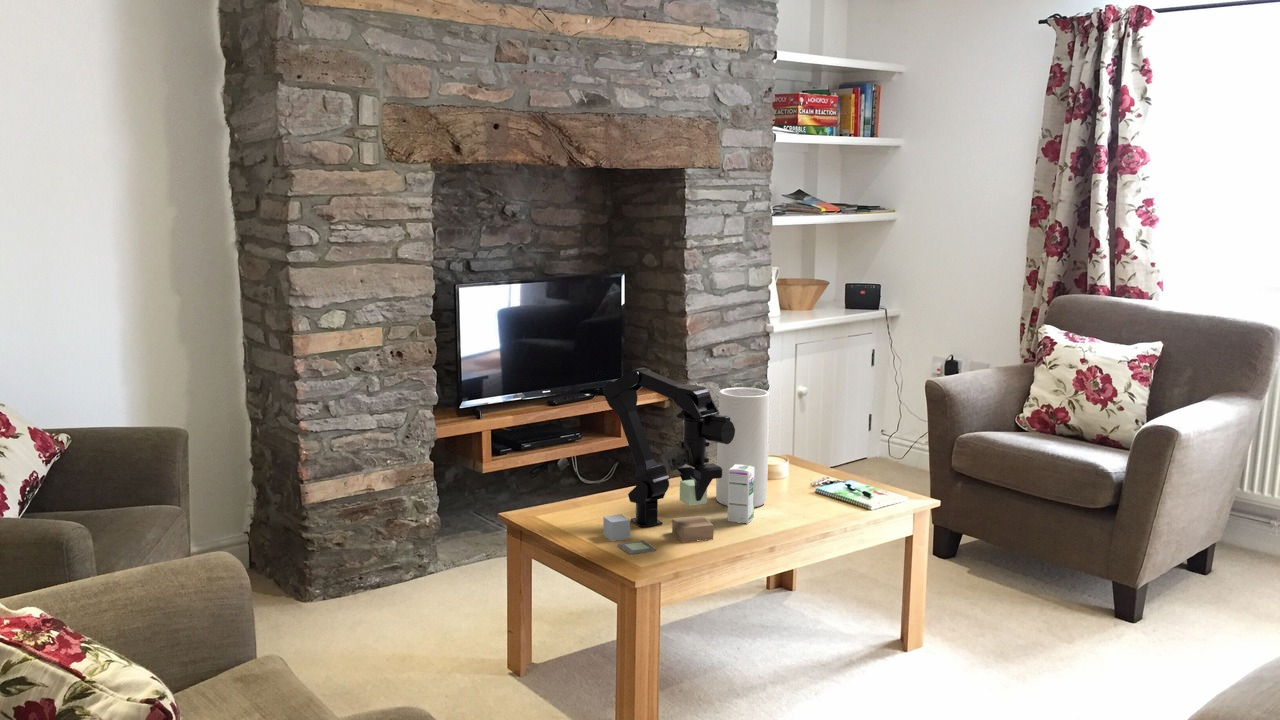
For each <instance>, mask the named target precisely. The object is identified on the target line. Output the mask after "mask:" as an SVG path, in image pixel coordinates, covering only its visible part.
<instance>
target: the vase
mask: <svg viewBox="0 0 1280 720" xmlns="http://www.w3.org/2000/svg"><path fill="white" fill-rule="evenodd" d="M718 398H719V401H718V411H719V415H721V416H730V421H731V422H732V423H733V425H734V428H735V435H734V438H733V440H732V441H731V443H729V444H722V443H717V449H716V450H717V453H716V454H717V455H716V465H717V466H720V467H721V468H722V470H723V477H722V478H717V479H715V491H716V492H715V495H716V497H715V498H716V500H717V502H718V503H720V504H721V505H723V506H726V507H728V470H729V469H730V468H731V467H733V466H734V465H735V464H736V465H749V466H754V508H757V507H760V506H762V505H764V504H765V503H766V501H767V495H768V494H767V493H768V478H769V477H768V476H769V475H768V474H769V473H768V471H769V469H768V468H769V463H768V462H769V436H770V435H769V433H770V432H769V429H770V427H769V426H770V392H769V391H768V390H765V389H761V388H755V387H727V388H722V389H720V390H719V397H718Z"/></svg>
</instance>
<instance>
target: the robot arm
mask: <svg viewBox="0 0 1280 720" xmlns="http://www.w3.org/2000/svg"><path fill="white" fill-rule="evenodd" d="M642 388H645V389H647V390H649V391H651V392H654V393H656V394H659V395H661V396H664V397H666V398H668V399H670V400H672V401H673V402H674V403H675V405H676V406H677V407H678V408H680V409H681V411H680V412H679V413H678V414H676V418H678V419H683V436H682V437H683V439H680V440H679V442H678V447H676V448H672V449H670V450H668V451H666V452H665V453H663V454H661V455H660V458H661V460H662V463H661V464H659V463H657V462H656V460H655V458H654V456H653V453H652V450H651V447H650V445H649V442H648V439H647V436H646V434H645V430H644V428H643V425H642V422H641V419H640V417H639V414H638V411H637V406H638V405H637V403H638V400H639V399H638V394H637V393H638V391H639V390H640V389H642ZM602 390H603V391H602V393H603V395H604V399H605V400H606V403H607V404H608V407H609V408H610V409H612V410H613V411H614V413H615V414H617V416H618V418H619V421H620V424H621V427H622V430H623V432H624V435H625V438H626V441H627V443H628V447H629V449H630V452H631V453H630V454H631V455H632V459H633V460H634V464H635V473H634V482H635V483H634V484H635V486H634V487H633V488H632V489H631V490H630V492H628V494H627V497H628V499H629V502H630V503H634V504H635V517H631V518H630V522H632V523H633V524H635V525H636V526H638V527H640V528H644V527H652V526H658V525H659V526H660V525H663V522H662V521H661V520H659V518H658V515H659V514H658V513H659V511H658V510H659V509H658V508H659V507H658V505H659V504H658V503H659V502H658V501H659V500H661V499H664V498H665V495H666V493H667V491H668V489H669V487H670V480H669V479H670V475H668V472H667V469H669V471H671V472H673V471H676V472H677V473H678V475H680V479H681V481H685V480H694V482H695V495H696V500H697V501H700V500H701V499H702V497H703V495H704V493H705V491H706V489H707V490H708V487H709V486H710V484H711V483H712V481H713V480H714V479H715V480H716V479H717V478H722V477H723V470H722V468H721V467H720V466H717V464H715V463H709V462H710V459H709V457H707V456H706V455H707V454H706V452H707V447H710V442H713V443H717V444H718V443H722V444H729V443H731V441H732V440H733V438H734V435H735V428H734V425H733V423H732V422H731V421H730V416H721V415H719V408H718V407H717V405H716V404H715V401H714V399H713V398H712V396H711V393H710V390H709V389H708V388H707V387H705V386H701V385H697V384H687V383H686V384H685V383H681V382H678V381H676V380H673V379H671V378H669V377H666V376H664V375H661V374H659V373H657V372H654V371H651V370H650V369H649V368H646V367H639V368H635V369H632V370H631V371H629V372H628V373H627V374H625V375H623V376H621V377H619V378H616V379H615V380H610V381H608V382H606V384H605V385H604V388H603V389H602ZM705 409H706V410H705Z"/></svg>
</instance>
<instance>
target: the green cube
mask: <svg viewBox="0 0 1280 720" xmlns="http://www.w3.org/2000/svg"><path fill="white" fill-rule="evenodd" d="M707 497H708V488H707V489H706V491H705V493H704V495H703V497H702V499H701V500H700V501H697V500H696V495H695V482H694V480H685V481H682V480H680V481H679V501H680V502H682V503H684V504H685V505H687V506H695V505H704V504H707V503H708V502H707V501H708V498H707Z"/></svg>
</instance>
